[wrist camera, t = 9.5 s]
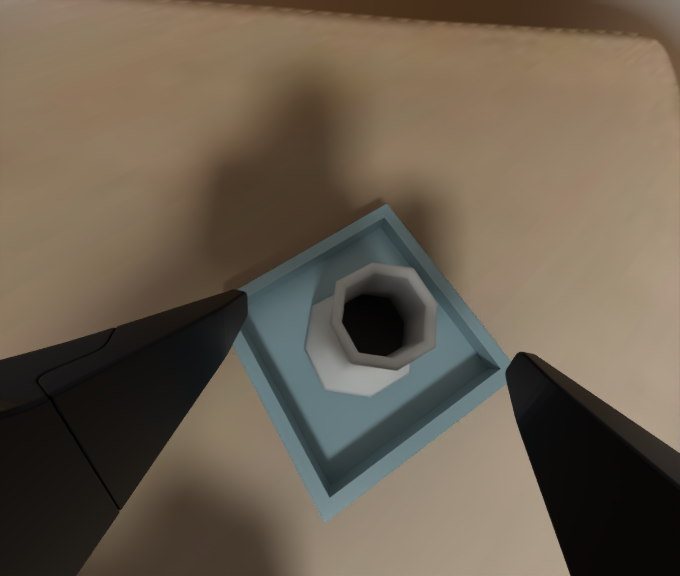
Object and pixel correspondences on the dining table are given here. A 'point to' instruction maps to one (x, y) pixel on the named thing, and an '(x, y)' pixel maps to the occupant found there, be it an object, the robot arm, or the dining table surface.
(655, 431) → the dining table surface
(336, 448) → the tray
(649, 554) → the robot arm
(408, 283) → the flask
